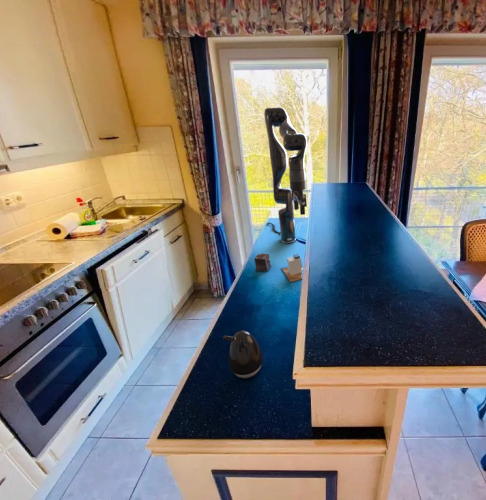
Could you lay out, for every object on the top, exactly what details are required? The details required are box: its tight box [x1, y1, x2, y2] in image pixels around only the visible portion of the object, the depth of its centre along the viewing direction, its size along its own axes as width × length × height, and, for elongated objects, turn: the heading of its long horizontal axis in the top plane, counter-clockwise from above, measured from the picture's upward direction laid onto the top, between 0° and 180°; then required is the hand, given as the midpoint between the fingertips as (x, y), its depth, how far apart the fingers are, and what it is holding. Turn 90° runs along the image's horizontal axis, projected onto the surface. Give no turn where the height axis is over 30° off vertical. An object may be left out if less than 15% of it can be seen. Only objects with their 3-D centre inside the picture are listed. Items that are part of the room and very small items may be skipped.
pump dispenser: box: [223, 329, 264, 379], centre depth 85 cm, size 10×10×15 cm
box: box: [253, 253, 272, 272], centre depth 144 cm, size 6×6×7 cm
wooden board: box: [281, 266, 304, 283], centre depth 141 cm, size 14×10×1 cm
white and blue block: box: [286, 253, 303, 276], centre depth 139 cm, size 6×4×9 cm, turn 114°
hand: (299, 211), depth 140 cm, fingers open, 8 cm apart
